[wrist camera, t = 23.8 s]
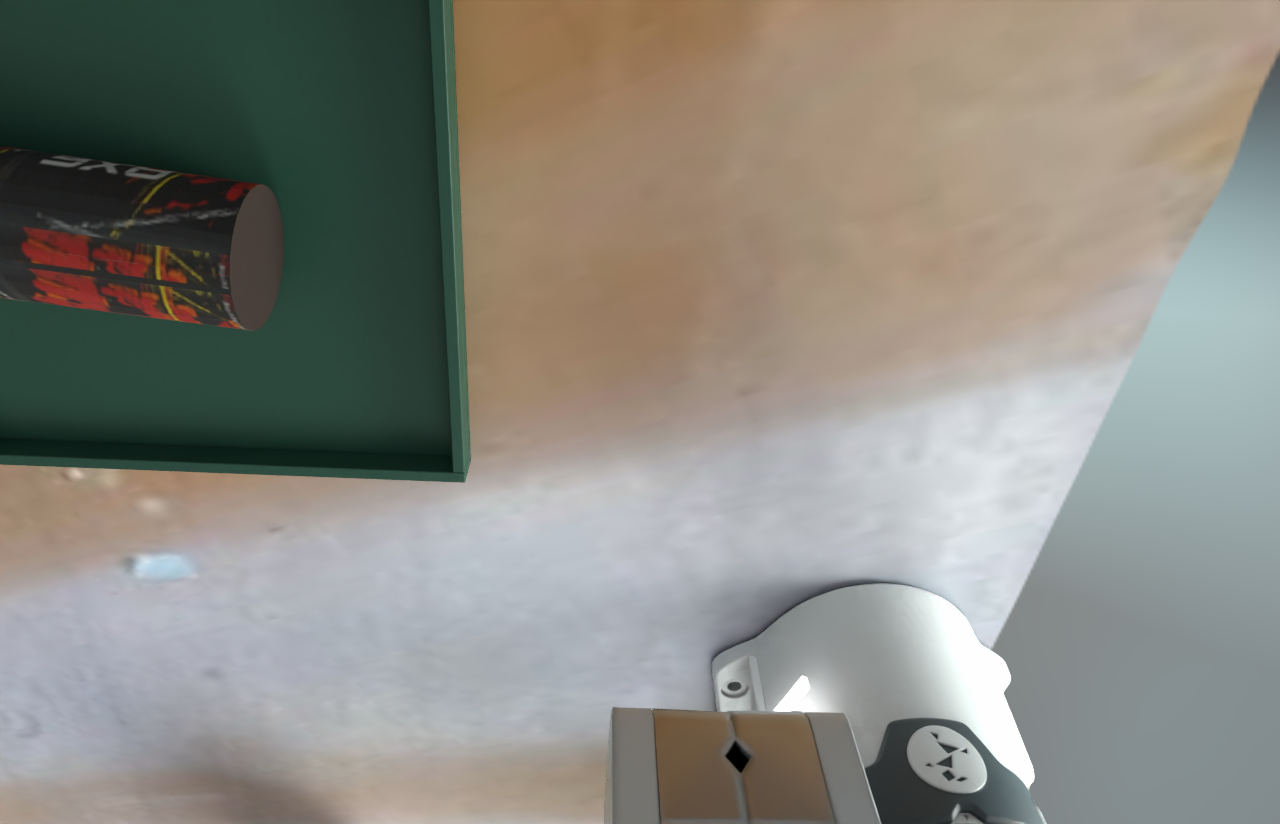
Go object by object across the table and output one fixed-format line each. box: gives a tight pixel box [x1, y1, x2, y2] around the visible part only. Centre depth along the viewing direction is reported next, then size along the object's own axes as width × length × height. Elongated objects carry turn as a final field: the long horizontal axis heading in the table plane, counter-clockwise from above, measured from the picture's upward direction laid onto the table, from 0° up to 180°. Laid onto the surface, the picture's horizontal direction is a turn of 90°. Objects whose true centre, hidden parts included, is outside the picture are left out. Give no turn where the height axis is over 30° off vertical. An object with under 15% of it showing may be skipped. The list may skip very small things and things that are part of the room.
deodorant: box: [0, 146, 284, 331], centre depth 33 cm, size 6×6×15 cm
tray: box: [0, 0, 471, 482], centre depth 36 cm, size 23×24×2 cm
